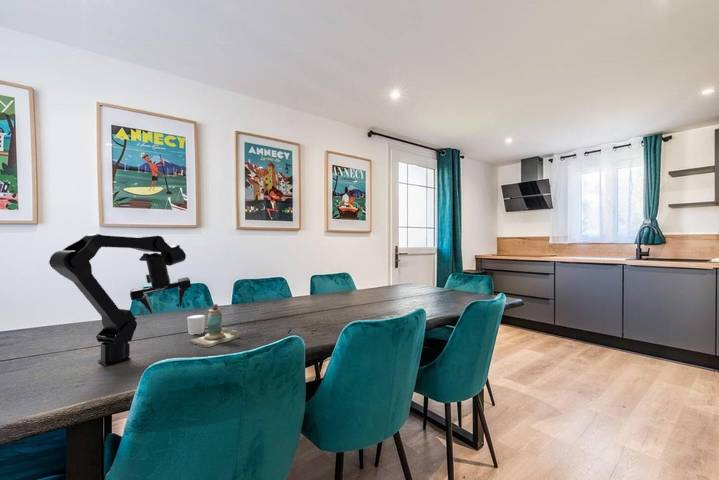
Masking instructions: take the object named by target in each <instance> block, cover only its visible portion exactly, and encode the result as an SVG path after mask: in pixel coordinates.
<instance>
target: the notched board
mask: <svg viewBox="0 0 719 480" xmlns="http://www.w3.org/2000/svg"><path fill="white" fill-rule="evenodd" d="M221 332H224V337H223V338H220V339H214V340H208V339H205V335H204V336H201V337H196V338H192V339H190V340H189V344H192V343H193V344H192V345H195V344H197V345H196V346H199V347H204V348H209V347H212V346H215V345H219V344H223V343H225V342H228V341H231V340H235V339H239V330H235V329H231V330H230V331H229V332H228V328H226V327H222V331H221Z"/></svg>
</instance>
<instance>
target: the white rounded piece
mask: <svg viewBox="0 0 719 480" xmlns="http://www.w3.org/2000/svg"><path fill="white" fill-rule="evenodd" d="M186 318H187V329H188V330H187V331H188V335H189V334H190V336H195V335H194V334H199V335H201V333H202V334H204V333H203V332H205V325H206V324H205V323H206V315H205V314H191V315H189V316H187V317H186Z"/></svg>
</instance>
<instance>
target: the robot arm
mask: <svg viewBox="0 0 719 480" xmlns="http://www.w3.org/2000/svg"><path fill="white" fill-rule="evenodd" d="M101 248H117V249H118V248H120V249H121V248H122V249H125V248H126V249H133V250H136V251H141V252H145V253H143V255H142V256H141V257H139V261H141V262H146V266H147V270H148V274H146V275H145V277H146V283H147V284H151V287H147V288H145V287H144V286H143V285H142V286H137V287H133V288H131V290H130V292H129V297H130V300H131V301H136V302H140V303H141V304H142V305H144V307H145V308H146V309H147V310H148V311H149V313H150V314H151V315H153V308H152V306H151V303H150V301H149V298H148V295H147V294H151V293H155V292H157V293H158V292H161V291H165V290H166V291H167V290H170V289H176V288H178V303H179V307H182V304H183V298H184V294H185V292H187V291H188V289H189V288H192V284H191V280H190V278H189V277H182V278H177V281H175V282H171V280H170V279H171V278H170V275H169V271H168V266H170V267H171V266H173V265H174V266H175V265H176V264H179V263H182V262H184V261H185V260H186V259H187V258H186V257H187V255H186V253H185V251H184V249H183V248H181V245H180V244H175V245H172V246H170V245H169V243H167V242H166V241H165V239H164V237H163V236H161V235H142V236H141V235H138V236H132V237H131V236H119V235H104V234H99V233H89V234H86V235H84V236H83V237H82V238H80V239H79V240H78V241H75V242H73V243H71V244H69V245H67V246H66V247H64V248H63V249H62V250H58V251H55V252H54V253H53V254H52V255H51V256H50V258H49V261H48V264H49V266H50V267H51V269H53V270H55V272H57V273H58V274H59V275H61V276H63V278H65V279H68V280H69V281H71V282H73V284H74V285H75V286H76V287H77V288H78V290H79V291H80V292H81V294H83V296H84V297H85V299H86V300H87V301H88V302H89V303H90V304H91V306H93V308H94V309H95V310H96V312H97V313H98V314H99V315H100V317H101V324H102V326H103V328H102V329H101V330H100V331H99V332H98V333H97V335H96V336H95V338H96V341H97V343H100V359H99V360H97V363H99V364H102V365H103V366H107V367H109V366H113V365H116V364H119V363H122V362H123V363H124V362H126V361H129V360H131V357H130V354H131V353H130V351H131V350H130V347H131V344H130V342H131V341H132V339H133V337H134V333H135V331H136V329H137V326H138V322H137V317H135V316H134V314H133V313H132V311H131V310H130V309H123V308H119V307H118V305H116V303H115V302H114V300H113V299H112V298H111V297H110V295H109V294H108V293H107V292H106V290H105V289H104V288H103V287H102V285H101V284H100V283H99V281H98V280H97V279H96V277H95V275H93V271H92V270H93V268H92V264H91V262H90V261H91V260H92V259H93V258H94V257H95V256H96V255H97V253H98V252H99V249H101ZM146 252H147V253H146ZM151 252H152V253H151Z"/></svg>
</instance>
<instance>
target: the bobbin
mask: <svg viewBox="0 0 719 480" xmlns="http://www.w3.org/2000/svg"><path fill="white" fill-rule="evenodd" d="M218 307H219V305H218V304H212V308H210V309H208V314H207V333H205V335H204V336H205V339H208V340H214V339H220V338H223V337H224V332H221V331H222V328H223V327H222V322H223V321H222V320H223V319H222V318H223V317H222V315H223V313H222V308H218Z"/></svg>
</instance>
